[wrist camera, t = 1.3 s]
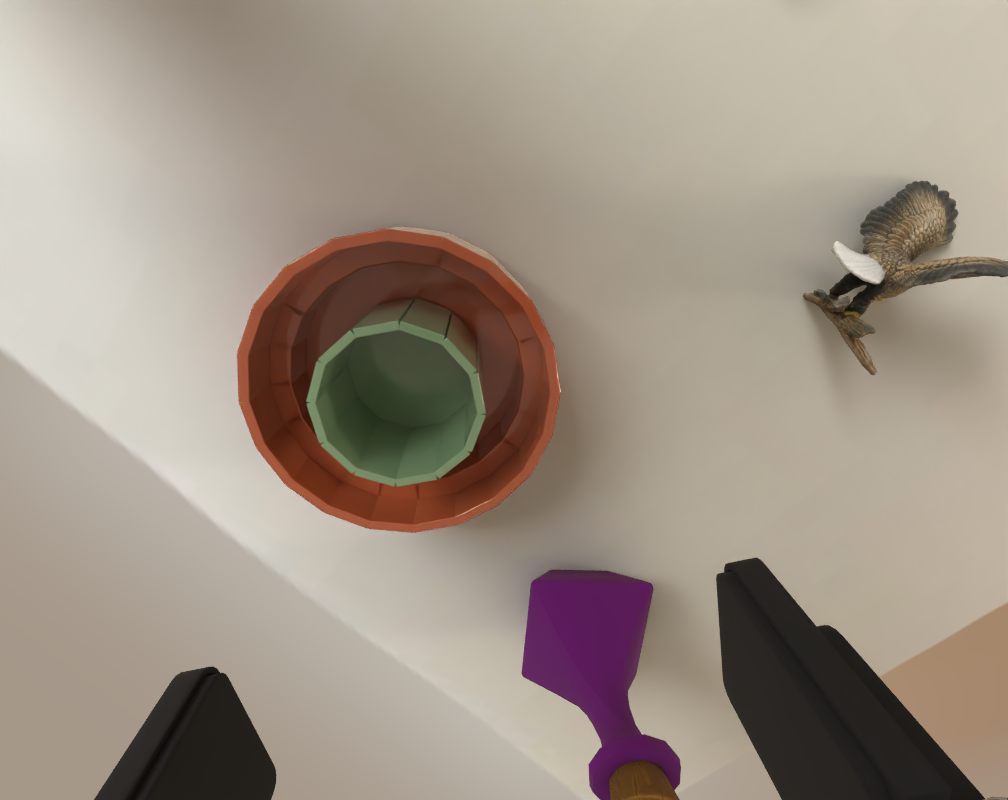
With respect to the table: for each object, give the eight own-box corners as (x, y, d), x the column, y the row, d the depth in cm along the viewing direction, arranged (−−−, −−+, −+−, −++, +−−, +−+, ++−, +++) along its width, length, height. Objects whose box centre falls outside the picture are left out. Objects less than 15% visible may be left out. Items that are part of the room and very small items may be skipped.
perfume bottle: (526, 547, 33) (579, 890, 16) (637, 550, 34) (801, 885, 17) (517, 637, 36) (555, 1014, 19) (621, 638, 36) (749, 1006, 19)
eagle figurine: (853, 382, 29) (1032, 291, 26) (888, 371, 23) (1132, 249, 20) (776, 275, 31) (936, 178, 28) (789, 236, 24) (998, 106, 21)
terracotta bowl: (242, 255, 26) (186, 265, 21) (522, 204, 26) (533, 201, 21) (325, 498, 31) (295, 554, 26) (559, 456, 31) (576, 504, 26)
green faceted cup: (328, 312, 27) (284, 341, 21) (467, 287, 27) (465, 308, 21) (365, 439, 29) (336, 498, 23) (492, 416, 29) (497, 469, 23)
